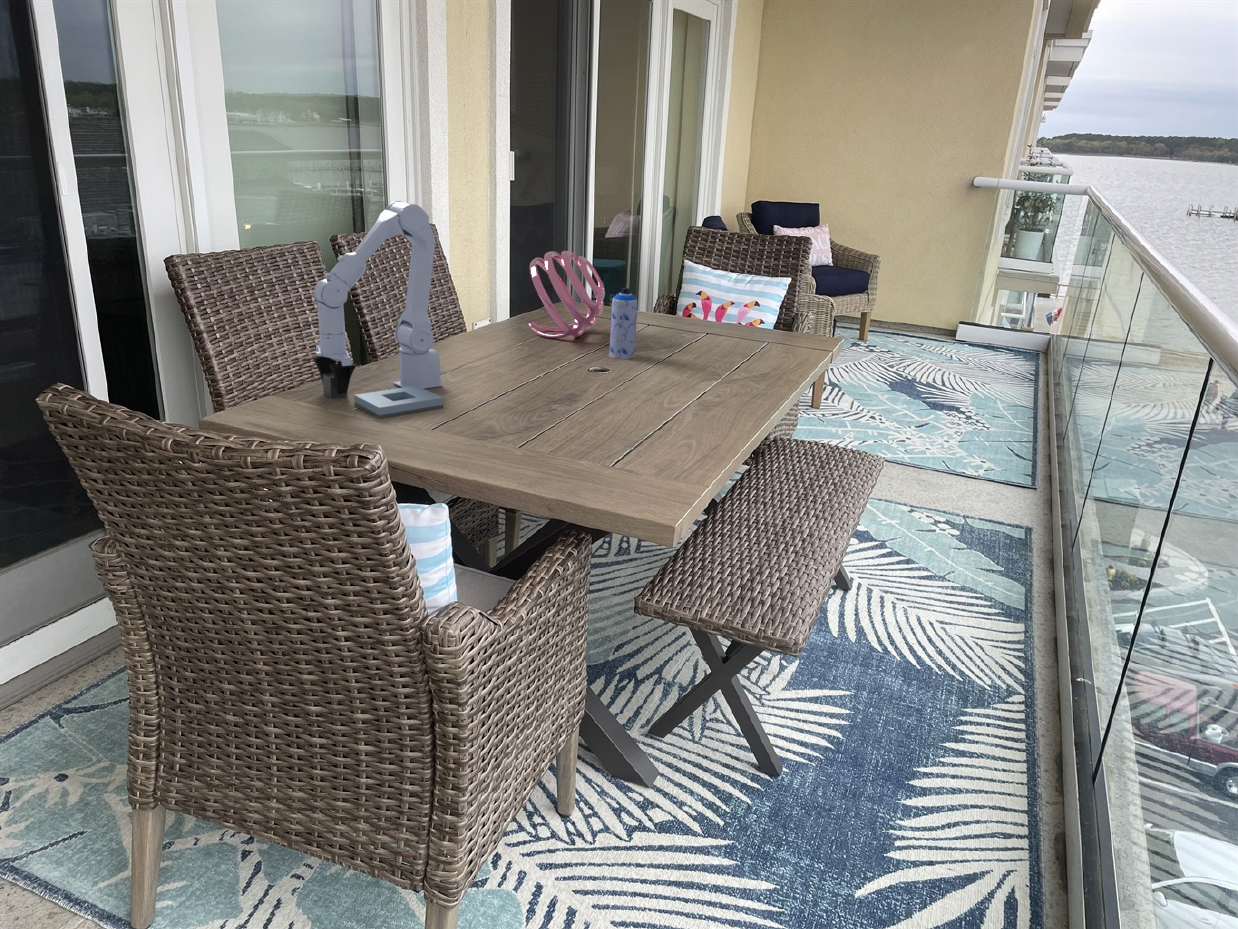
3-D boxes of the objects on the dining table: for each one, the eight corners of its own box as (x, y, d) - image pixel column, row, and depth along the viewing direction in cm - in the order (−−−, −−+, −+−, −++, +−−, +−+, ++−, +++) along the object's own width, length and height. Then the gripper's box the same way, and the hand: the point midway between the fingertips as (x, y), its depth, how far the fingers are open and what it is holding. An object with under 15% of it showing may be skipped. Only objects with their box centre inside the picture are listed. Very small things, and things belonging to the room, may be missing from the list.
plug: (339, 392, 215) (338, 371, 214) (347, 396, 212) (346, 375, 211) (323, 394, 213) (322, 374, 211) (331, 398, 210) (330, 377, 208)
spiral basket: (488, 273, 277) (562, 227, 270) (522, 283, 304) (590, 242, 296) (528, 353, 275) (604, 309, 268) (559, 356, 302) (628, 317, 295)
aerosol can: (639, 358, 266) (643, 290, 259) (614, 359, 263) (618, 290, 256) (629, 352, 272) (632, 286, 266) (604, 353, 270) (608, 286, 263)
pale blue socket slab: (417, 395, 216) (416, 385, 215) (443, 407, 207) (443, 397, 207) (354, 405, 206) (354, 394, 205) (379, 418, 197) (379, 407, 196)
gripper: (302, 328, 210) (306, 384, 215) (329, 340, 200) (332, 398, 204) (331, 325, 214) (334, 380, 219) (358, 337, 204) (361, 394, 209)
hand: (335, 389), depth 212 cm, fingers open, 7 cm apart
